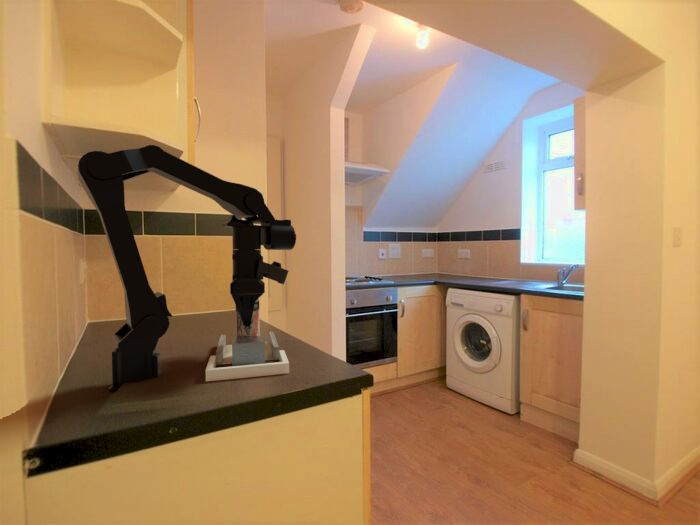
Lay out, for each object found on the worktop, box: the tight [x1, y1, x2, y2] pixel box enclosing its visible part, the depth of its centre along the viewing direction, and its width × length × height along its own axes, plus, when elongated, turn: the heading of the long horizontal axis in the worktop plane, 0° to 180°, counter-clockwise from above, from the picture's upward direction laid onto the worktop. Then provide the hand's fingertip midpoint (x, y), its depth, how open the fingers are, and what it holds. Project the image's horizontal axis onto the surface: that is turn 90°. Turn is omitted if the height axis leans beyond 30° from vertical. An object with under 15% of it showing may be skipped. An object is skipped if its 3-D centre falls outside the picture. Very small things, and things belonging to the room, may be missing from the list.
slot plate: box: [215, 331, 280, 366], centre depth 78 cm, size 12×15×4 cm
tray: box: [205, 349, 290, 382], centre depth 66 cm, size 14×9×3 cm, turn 106°
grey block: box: [231, 335, 266, 366], centre depth 70 cm, size 6×5×4 cm
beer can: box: [235, 298, 261, 338], centre depth 75 cm, size 5×5×12 cm
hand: (247, 324), depth 75 cm, fingers closed on beer can, 5 cm apart
